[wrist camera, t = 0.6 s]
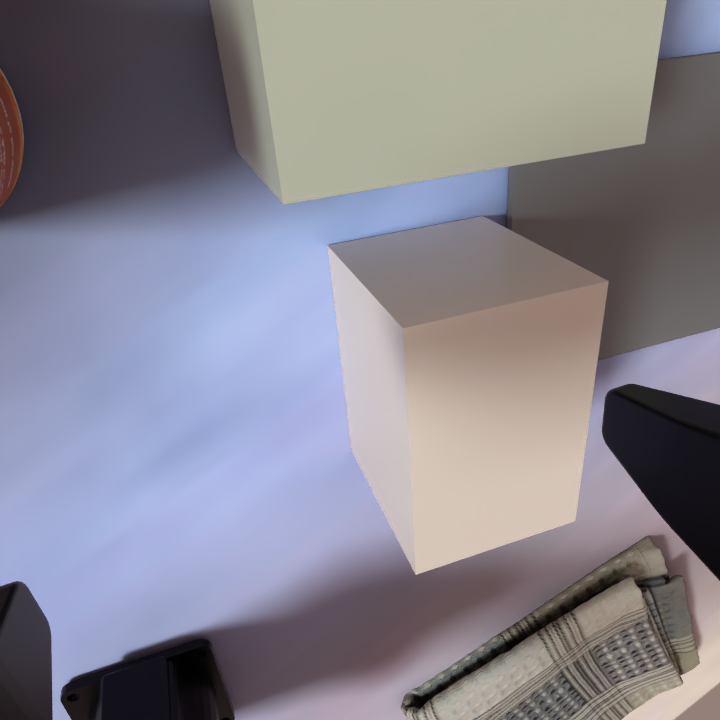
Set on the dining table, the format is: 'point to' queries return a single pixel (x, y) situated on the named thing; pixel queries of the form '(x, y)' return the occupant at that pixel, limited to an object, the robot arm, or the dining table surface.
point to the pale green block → (430, 86)
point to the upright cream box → (466, 382)
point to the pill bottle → (9, 139)
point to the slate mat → (640, 212)
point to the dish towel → (576, 651)
